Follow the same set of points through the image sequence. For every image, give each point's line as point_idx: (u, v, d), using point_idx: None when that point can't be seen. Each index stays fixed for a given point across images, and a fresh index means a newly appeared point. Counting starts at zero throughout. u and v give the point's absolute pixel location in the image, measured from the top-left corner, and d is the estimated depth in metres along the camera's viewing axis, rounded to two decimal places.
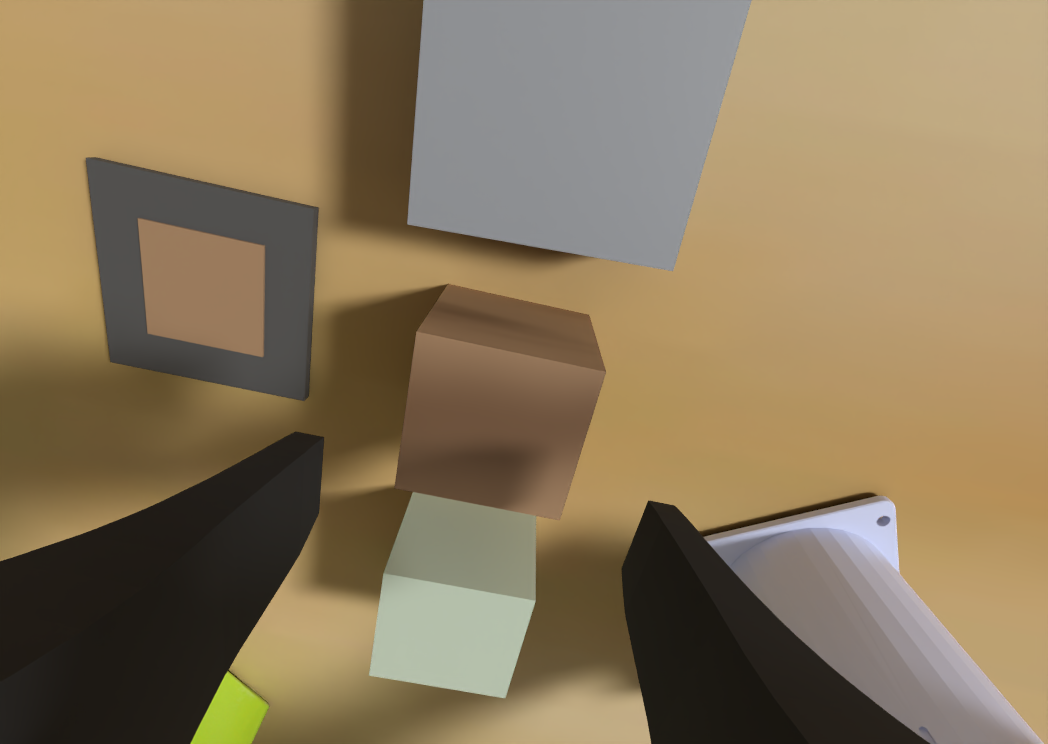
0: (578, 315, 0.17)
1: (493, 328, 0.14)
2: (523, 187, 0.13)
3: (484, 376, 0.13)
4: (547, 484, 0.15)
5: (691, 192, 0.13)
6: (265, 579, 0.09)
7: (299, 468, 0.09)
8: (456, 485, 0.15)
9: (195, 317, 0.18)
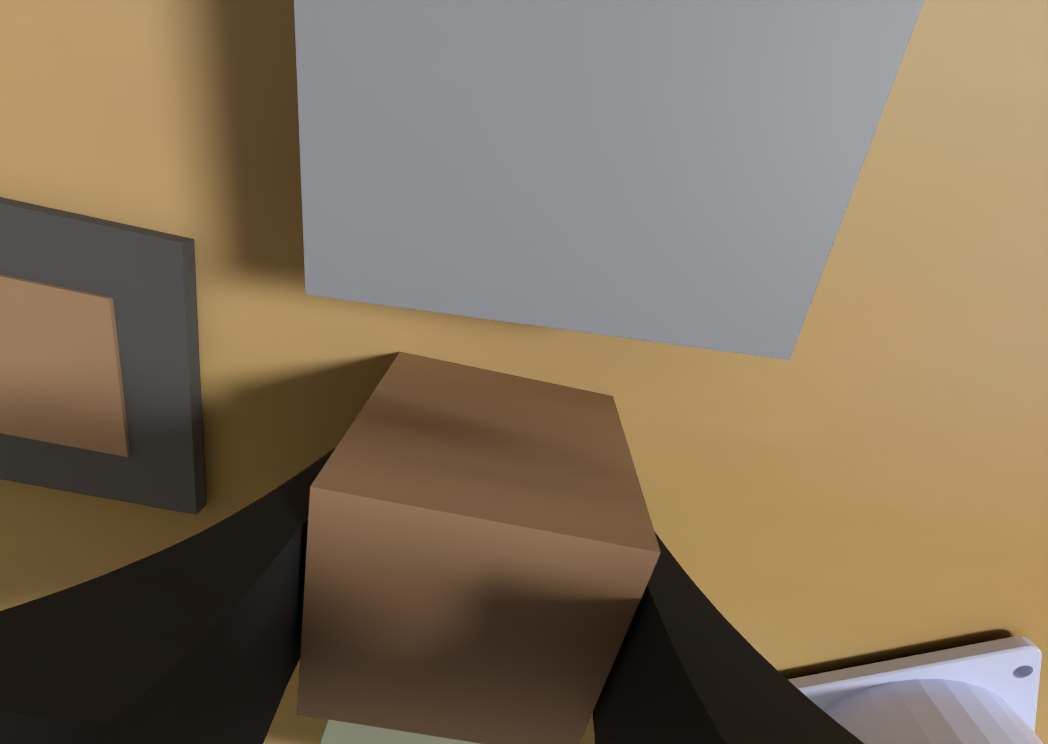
0: (597, 401, 0.11)
1: (459, 455, 0.08)
2: (514, 221, 0.07)
3: (440, 558, 0.07)
4: (553, 711, 0.09)
5: (832, 220, 0.07)
6: None
7: None
8: (400, 711, 0.09)
9: (21, 402, 0.12)
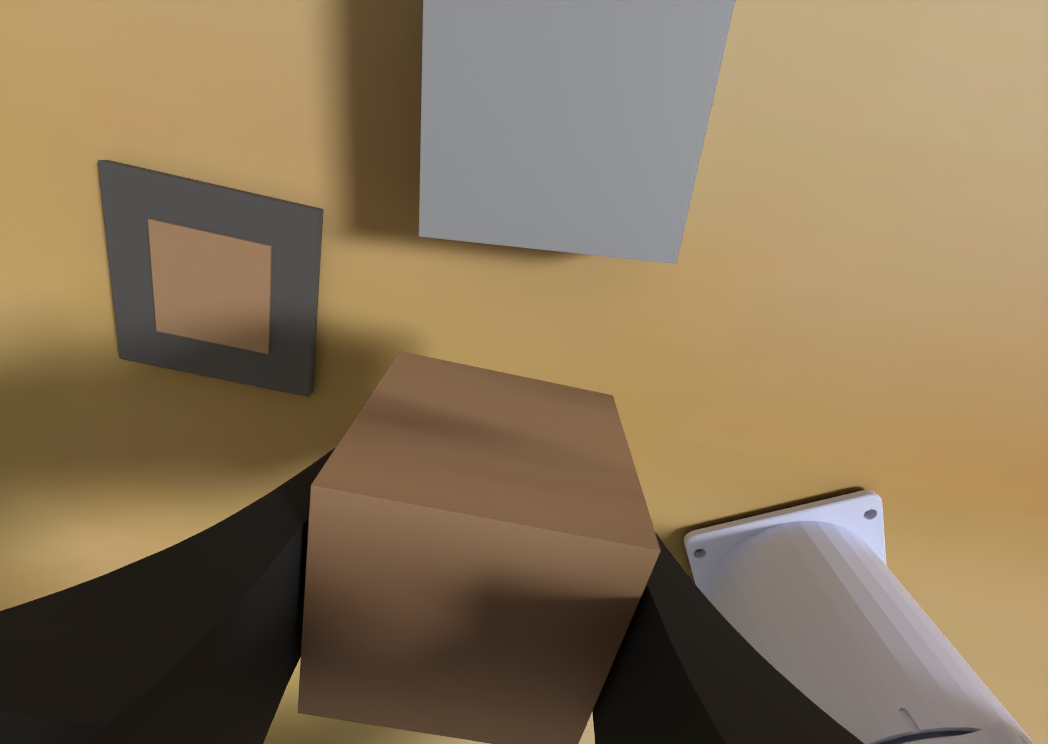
0: (597, 400, 0.11)
1: (459, 453, 0.08)
2: (527, 193, 0.13)
3: (440, 556, 0.07)
4: (553, 710, 0.09)
5: (689, 187, 0.13)
6: None
7: None
8: (401, 709, 0.09)
9: (202, 315, 0.18)
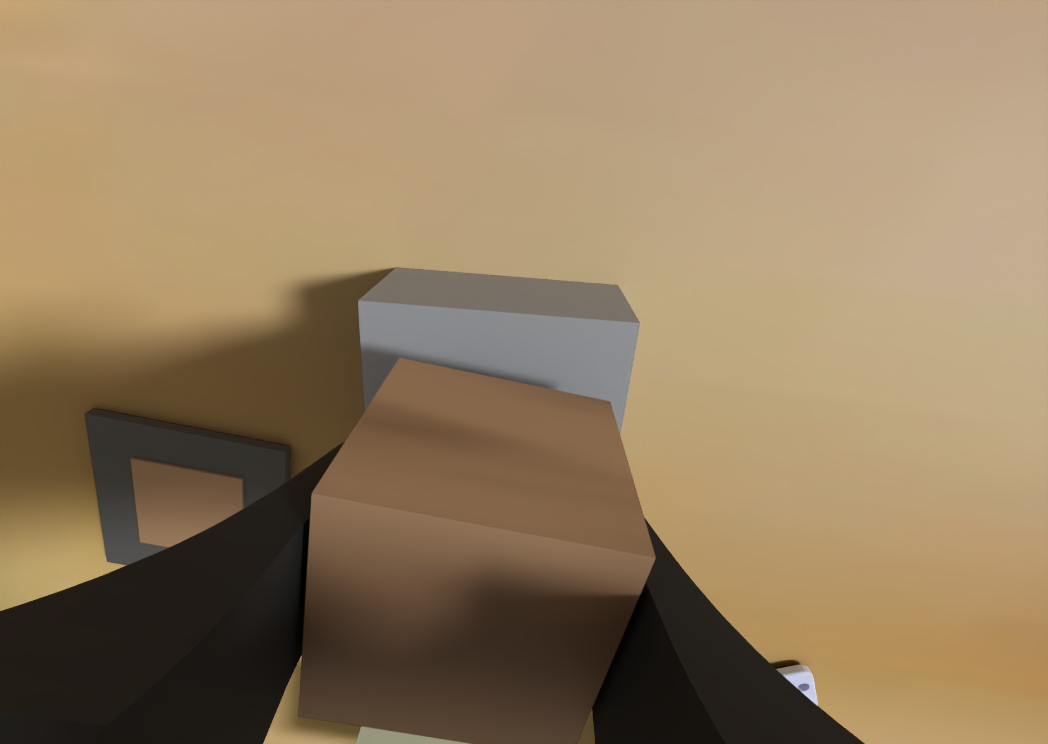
0: (595, 406, 0.12)
1: (458, 461, 0.09)
2: None
3: (439, 563, 0.08)
4: (550, 713, 0.09)
5: None
6: None
7: None
8: (400, 713, 0.09)
9: (182, 530, 0.20)
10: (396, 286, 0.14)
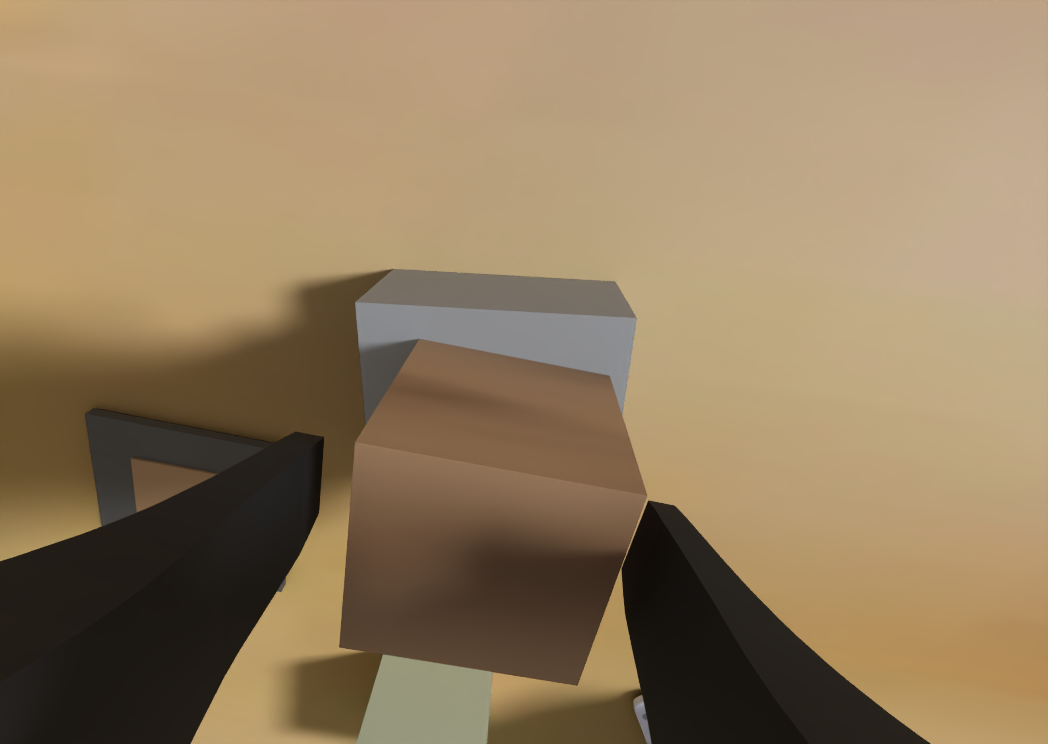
0: (596, 379, 0.13)
1: (476, 420, 0.10)
2: None
3: (462, 502, 0.09)
4: (559, 641, 0.10)
5: None
6: (265, 579, 0.09)
7: (299, 469, 0.09)
8: (428, 643, 0.10)
9: None
10: (393, 287, 0.14)
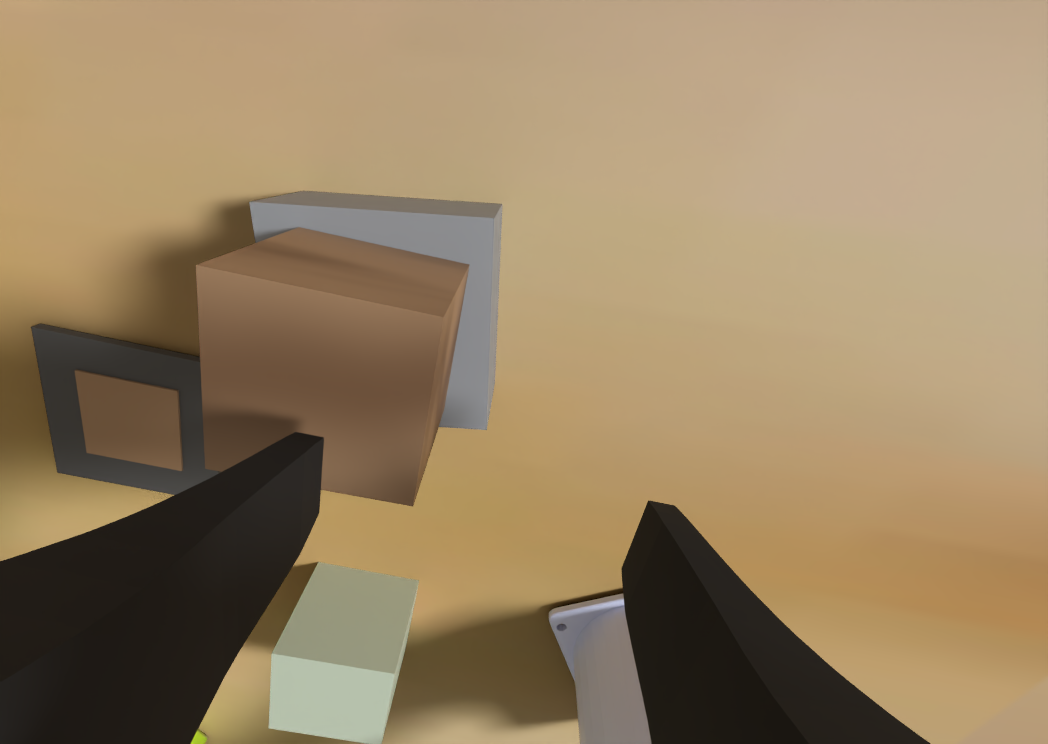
0: (454, 264, 0.15)
1: (317, 268, 0.12)
2: None
3: (292, 324, 0.11)
4: (391, 461, 0.12)
5: (485, 377, 0.17)
6: (265, 580, 0.09)
7: (299, 468, 0.10)
8: None
9: (125, 441, 0.22)
10: (292, 197, 0.16)
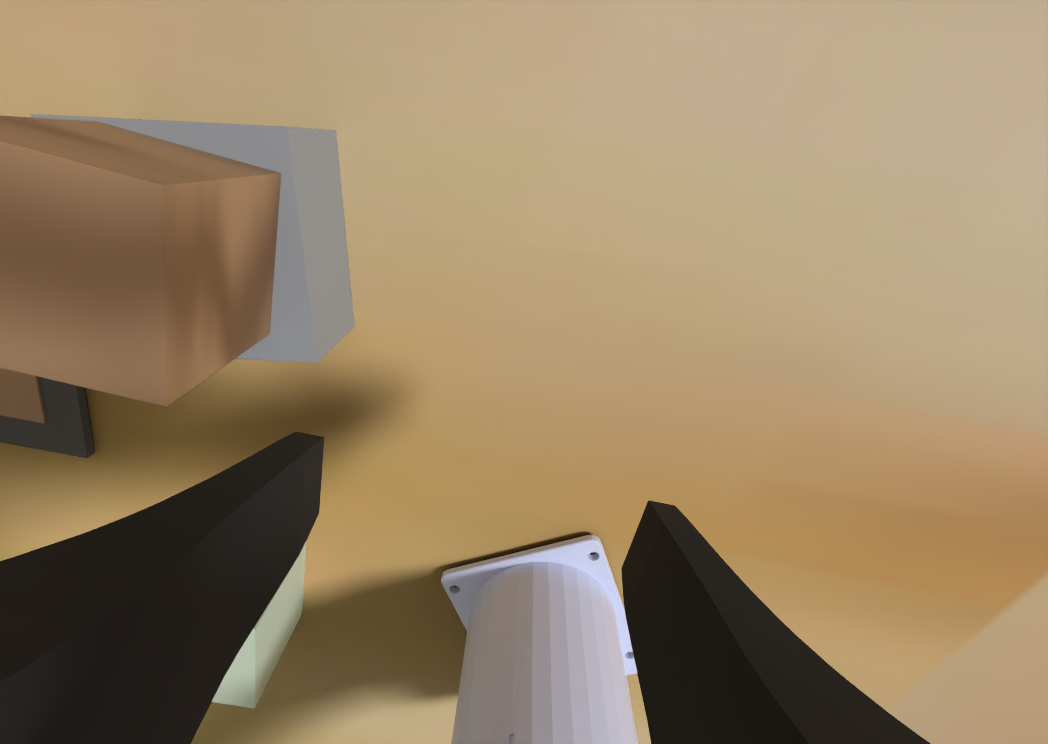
0: (259, 169, 0.14)
1: (56, 139, 0.11)
2: None
3: (0, 185, 0.10)
4: (134, 353, 0.11)
5: (307, 304, 0.16)
6: (265, 579, 0.09)
7: (300, 468, 0.10)
8: (16, 350, 0.11)
9: None
10: None
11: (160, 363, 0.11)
